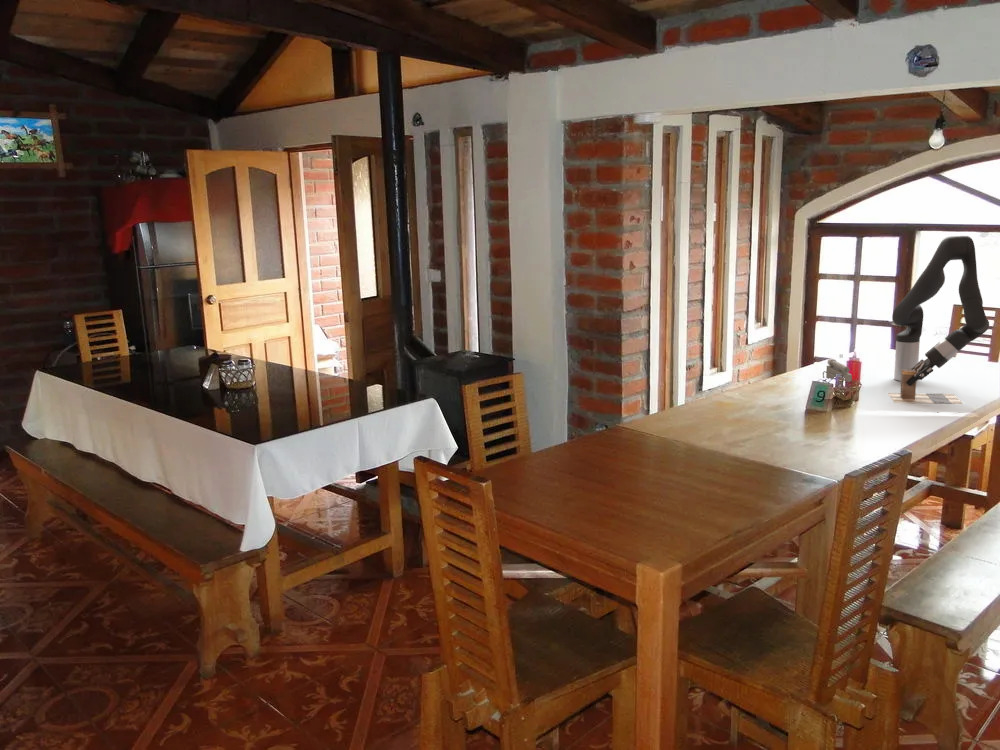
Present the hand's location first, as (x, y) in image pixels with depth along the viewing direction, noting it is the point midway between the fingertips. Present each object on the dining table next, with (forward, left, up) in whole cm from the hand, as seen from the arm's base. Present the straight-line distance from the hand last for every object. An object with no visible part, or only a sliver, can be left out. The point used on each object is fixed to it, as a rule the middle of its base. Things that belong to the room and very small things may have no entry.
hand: (906, 382), depth 325 cm
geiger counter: (-11, -25, -8) cm, 29 cm away
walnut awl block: (0, +1, -6) cm, 6 cm away
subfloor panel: (0, +7, -8) cm, 10 cm away
